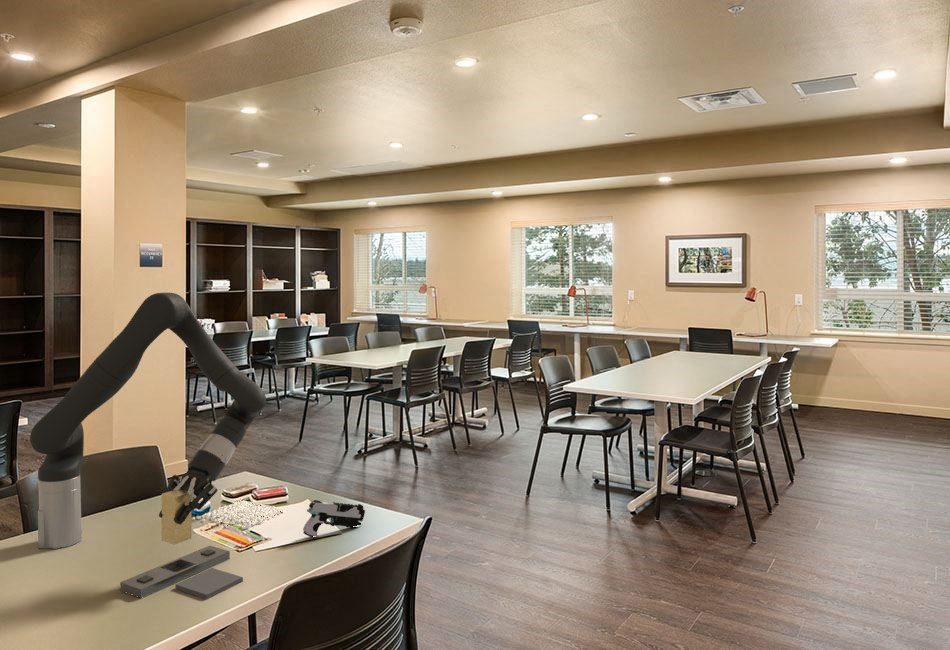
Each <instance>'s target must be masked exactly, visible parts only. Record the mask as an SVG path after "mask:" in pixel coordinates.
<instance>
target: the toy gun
mask: <svg viewBox="0 0 950 650" xmlns="http://www.w3.org/2000/svg"><path fill="white" fill-rule="evenodd" d="M308 506H309V507H308V509H306V512H307V513H309V514H310V517H309V518H308V520H307V521H306V522H305V524H304V525H303V529H302V531H303V534H304V535H305V536H308V537H310V538H312V537H313V536H317V537H318V530H319V528H320V527H321V526H322V525H323V524H324V525H330V526H332V527H335V526H338V527H345V528H350V527H353V526H357V525H361V526H362V523H361V522H363V520H364V518H365V514H366V509H364V506H363V504H360V503H358V504H352V503H351V504H350V503H348V504H347V503H342V502H334V501H333V502H327V501H320V500H317V499H315V500H311V502H310V503H309V505H308ZM328 519H330V521H328ZM353 528H354V527H353Z"/></svg>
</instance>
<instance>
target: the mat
mask: <svg viewBox="0 0 950 650" xmlns="http://www.w3.org/2000/svg"><path fill="white" fill-rule="evenodd" d="M243 582H244V577H242V576H240V575H237V574H233V573H230V572H227V571H224V570H221V569H216V568H215V567H211V568H208V569H206V570H204V571H202V572H200V573H197V574H195V575H193V576H191V577H188V578H186V579H184V580H182V581H179V582H177V583H175V584H174V585H175V586H174V587H175V588H174V589H176V590H178V591H181V592H184V593H188V594H190V595H193V596H197V597H200V598H201V599H205V600H208V599H210V598H213V597H214V596H217V595H218V594H220V593H222V592H224V591H227V590H228V589H231V588H232V587H234V586H237V585H239V584H241V583H243Z"/></svg>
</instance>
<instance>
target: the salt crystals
mask: <svg viewBox="0 0 950 650" xmlns="http://www.w3.org/2000/svg"><path fill="white" fill-rule="evenodd" d="M237 501H238V500H237ZM237 501H235V502H234V503H230V504H229V505H223V506H220V507H218V508H217V509H214V510H212V511H208V512H207V513H204V514H202V515H199V516H197V520H200V519H201V521H202V522H203V523H204V522H205V521H206V519H207V520H208V519H210V520H212V521H213V522H214V523H216V522H217V521H218V522H219V521H220V522H221V521H222V523H223V522H225V521H226V522H229V523H232V524H235V525H236V522H237V524H238V523H239V524H240V523H242V525H241V526H240V528H241V527H243V528H242V530H243V529H245V530H246V529H250V528H251V527H255V526H257V525H260V523H262V524H263V523H264V522H263V521H266V520H267V519H270V517H273V516H274V515H276V514H279V513H280V512H279V511H278V510H280V508H281V507H280V506H278V507H275V506H274V505H268V504H261V506H260V505H258V506H254V505H253V504H252V503H253V502H252V501H247V500H243V501H241V500H240V502H239V501H238V502H237ZM277 508H278V509H277ZM271 509H272V510H271ZM276 510H277V511H276ZM274 511H276V512H274ZM282 511H283V510H282ZM282 511H281V512H282ZM262 512H263V513H262ZM271 512H272V513H271ZM280 514H281V513H280ZM236 515H237V516H236ZM254 515H256V516H254ZM241 516H242V517H241ZM257 516H258V517H257ZM261 516H264V517H261ZM268 516H269V518H267V517H268ZM263 518H265V519H263ZM266 518H267V519H266ZM250 519H251V520H252V521H251V520H250ZM195 520H196V516H193V517H191V521H195ZM270 520H271V519H270ZM267 521H268V520H267ZM267 521H266V522H267ZM218 522H217V523H218ZM220 522H219V523H220ZM226 522H225V523H226ZM252 522H253V523H252ZM229 523H226V524H229ZM232 524H231V525H232ZM256 524H257V525H256ZM229 525H230V524H229ZM225 526H227V525H225V524H224V527H225ZM244 526H245V527H244Z"/></svg>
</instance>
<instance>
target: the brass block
mask: <svg viewBox="0 0 950 650" xmlns="http://www.w3.org/2000/svg"><path fill="white" fill-rule="evenodd" d="M187 492H188V491H185V490H181V489H180V490H173V491H170V492H166V493H165V492H163V493H161V510H162V518H161V541H163V542H164V543H168V544H172V545H177V544H181V543H183V542H185V541H188V540H191V539H192V511H191V512H190V513H189V515H188V516H187V518H186V519H185V521H184V522H183V523H182V524H177V523H176V522H175V521H174V518H175V516H176V515H177V513H178V512H179V511H180V509H181V508H182V506H185V505H184V504H185V501H186V500H187V498H188V494H189V493H187ZM191 502H192V501H191Z"/></svg>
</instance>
